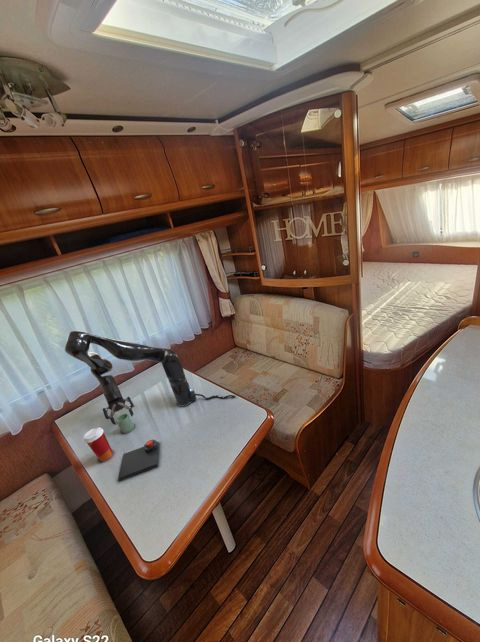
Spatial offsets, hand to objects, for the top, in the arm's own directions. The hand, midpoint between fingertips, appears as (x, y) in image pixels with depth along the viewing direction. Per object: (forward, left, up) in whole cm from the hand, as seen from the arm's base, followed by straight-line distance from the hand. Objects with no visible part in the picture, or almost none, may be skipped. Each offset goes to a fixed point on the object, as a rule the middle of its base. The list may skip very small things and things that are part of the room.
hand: (123, 420), depth 143 cm
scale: (-10, +28, -6) cm, 30 cm away
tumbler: (0, 0, -6) cm, 6 cm away
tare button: (-15, +23, -3) cm, 27 cm away
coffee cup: (+8, +16, -6) cm, 19 cm away
